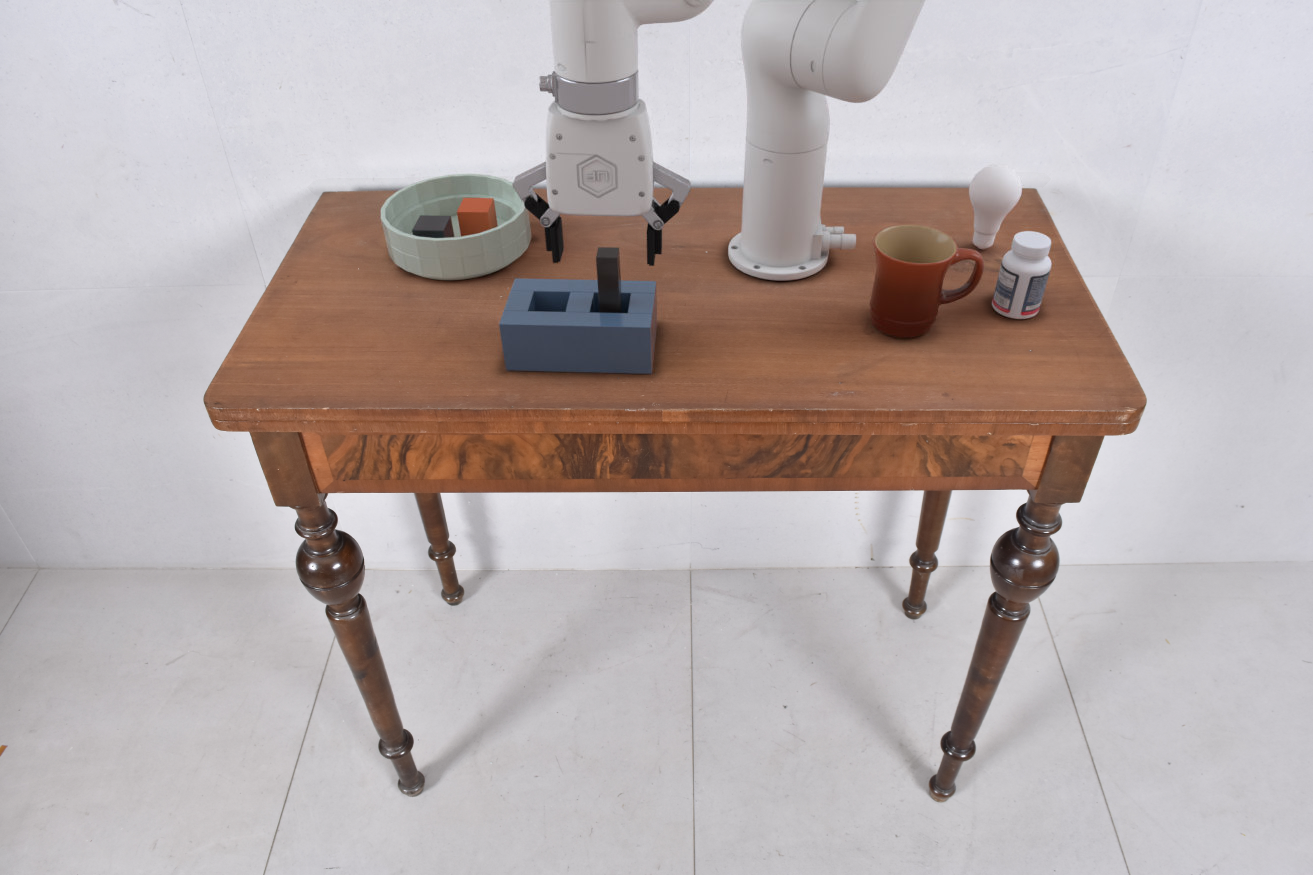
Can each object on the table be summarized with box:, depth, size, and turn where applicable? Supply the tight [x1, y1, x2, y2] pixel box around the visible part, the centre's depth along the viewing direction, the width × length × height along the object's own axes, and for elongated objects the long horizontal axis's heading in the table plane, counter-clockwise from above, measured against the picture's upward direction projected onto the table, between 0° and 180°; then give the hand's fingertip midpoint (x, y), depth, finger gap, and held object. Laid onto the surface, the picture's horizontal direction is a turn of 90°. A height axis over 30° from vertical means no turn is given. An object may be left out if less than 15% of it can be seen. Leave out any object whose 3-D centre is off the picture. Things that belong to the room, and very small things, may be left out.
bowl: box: [380, 173, 532, 281], centre depth 119 cm, size 18×18×6 cm
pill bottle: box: [991, 230, 1052, 320], centre depth 105 cm, size 5×5×9 cm
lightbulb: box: [968, 163, 1023, 250], centre depth 115 cm, size 6×6×11 cm
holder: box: [498, 277, 658, 375], centre depth 101 cm, size 9×16×6 cm, turn 86°
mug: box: [869, 224, 985, 339], centre depth 102 cm, size 12×9×10 cm
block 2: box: [457, 198, 498, 237], centre depth 121 cm, size 4×4×4 cm
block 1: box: [412, 215, 454, 238], centre depth 117 cm, size 4×4×4 cm
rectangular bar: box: [595, 246, 622, 313], centre depth 99 cm, size 2×2×12 cm
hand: (604, 258), depth 95 cm, fingers open, 9 cm apart
